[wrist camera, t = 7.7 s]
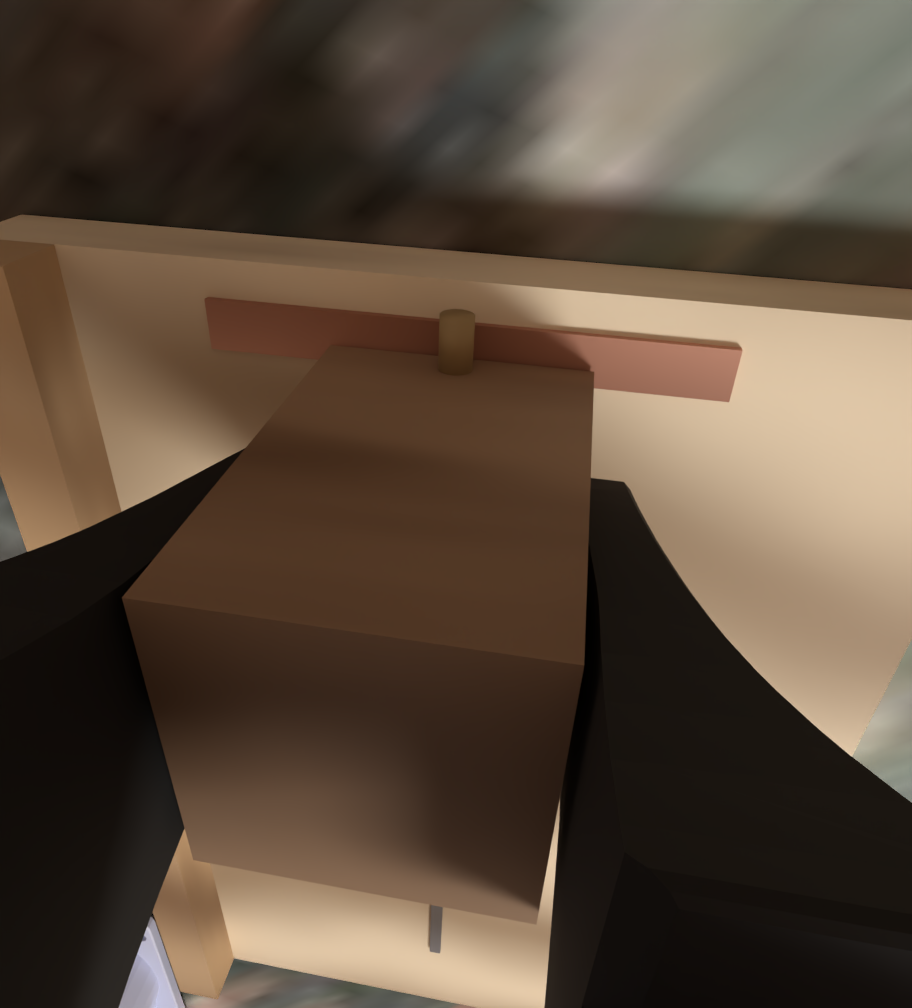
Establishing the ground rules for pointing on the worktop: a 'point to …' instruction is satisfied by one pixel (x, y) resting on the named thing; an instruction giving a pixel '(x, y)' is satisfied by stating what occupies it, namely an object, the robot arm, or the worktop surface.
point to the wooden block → (383, 629)
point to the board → (615, 456)
